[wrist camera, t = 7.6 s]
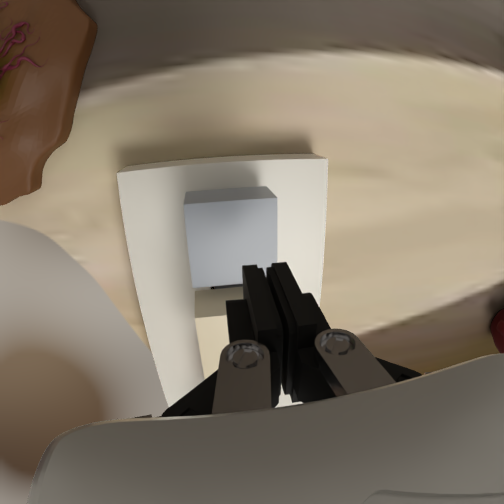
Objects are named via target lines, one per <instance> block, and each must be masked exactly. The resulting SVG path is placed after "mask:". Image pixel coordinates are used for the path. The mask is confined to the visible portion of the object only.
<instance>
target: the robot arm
mask: <svg viewBox="0 0 504 504" xmlns="http://www.w3.org/2000/svg"><path fill="white" fill-rule="evenodd" d="M242 279H243V299H238V300H226V314H227V325H228V335H229V344H228V345H227V346H225V348H224V349H223V350H222V352H221V354H220V360H219V367H218V370H216V371H215V372H214V373H213V374H211V375H210V376H209V377H208V378H206V379H205V380H204V381H203V382H201V383H200V384H199V385H197V386H196V387H195V388H194V389H192V390H191V391H190V392H188V393H187V394H186V395H185V396H183V397H182V398H181V399H179V400H178V401H177V402H175V403H174V404H173V405H171V406H170V407H169V408H168V409H167V410H166V411H165V412H164V413H163V414H162V416H159V417H153V418H152V415H147V416H140V417H135V418H127V419H115V420H107V421H101V422H95V423H90V424H87V425H83V426H79V427H76V428H73V429H71V430H68V431H66V432H64V433H62V434H60V435H59V436H57V437H56V438H55V439H54V440H53V441H52V442H51V443H50V444H49V446H48V447H47V448H46V450H45V452H44V454H43V455H42V458H41V460H40V462H39V465H38V467H37V470H36V473H35V476H34V478H33V482H32V485H31V489H30V493H29V497H28V501H27V504H504V353H500V354H493V355H487V356H483V357H479V358H475V359H472V360H469V361H466V362H463V363H460V364H456V365H453V366H450V367H447V368H444V369H441V370H438V371H435V372H427V373H425V374H424V375H421V374H420V373H418V372H416V371H414V370H411V369H408V368H405V367H402V366H399V365H396V364H393V363H390V362H387V361H385V360H382V359H379V358H376V357H374V356H373V355H372V354H371V352H370V351H369V350H368V349H367V348H366V347H365V345H364V344H363V343H362V342H361V341H360V340H359V338H358V337H357V336H355V335H354V334H353V333H351V332H349V331H347V330H343V329H331V328H330V326H329V324H328V323H327V321H326V319H325V317H324V315H323V313H322V311H321V309H320V308H319V306H318V304H317V302H316V300H315V298H314V296H313V295H312V293H310V292H309V293H302V292H301V290H300V288H299V286H298V284H297V282H296V280H295V278H294V276H293V274H292V272H291V270H290V268H289V266H288V264H287V262H279V263H272V264H271V267H267V268H266V276H265V273H264V270H263V268H258V267H257V264H255V265H242ZM281 384H282V388H283V391H284V394H285V395H289V394H290V397H291V400H292V403H295V402H302V404H296V405H290V406H283V407H276V406H277V405H278V403H279V396H280V395H281ZM275 407H276V408H275Z"/></svg>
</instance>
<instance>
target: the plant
mask: <svg viewBox="0 0 504 504" xmlns="http://www.w3.org/2000/svg"><path fill="white" fill-rule="evenodd" d="M96 34H97V24H96V23H95V22H94V21H93V20H92V19H91V18H90V17H89V16H88V15H87V14H86V13H85V12H84V11H83V10H82V9H81V8H80V7H79V5H78V4H77V2H76V0H0V205H5V204H7V203H9V202H11V201H13V200H14V199H16V198H18V197H19V196H23V195H28V194H30V193H32V192H34V191H36V190H38V189H40V187H41V184H42V171H43V168H44V165H45V163H46V161H47V159H48V158H49V156H50V155H51V154H52V153H53V151H55V150H56V149H57V148H58V147H60V146H61V145H62V144H64V143H65V142H66V141H67V139H68V137H69V134H70V132H71V128H72V124H73V117H74V112H75V108H76V104H77V100H78V96H79V92H80V88H81V84H82V79H83V75H84V71H85V68H86V65H87V62H88V59H89V57H90V54H91V51H92V48H93V45H94V41H95V38H96Z"/></svg>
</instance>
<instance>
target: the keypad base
mask: <svg viewBox="0 0 504 504" xmlns="http://www.w3.org/2000/svg"><path fill="white" fill-rule="evenodd" d="M117 180H118V188H119V195H120V203H121V209H122V216H123V222H124V229H125V235H126V240H127V246H128V251H129V257H130V262H131V267H132V272H133V277H134V282H135V286H136V291H137V295H138V300H139V304H140V308H141V312H142V317H143V321H144V325H145V329H146V333H147V336H148V340H149V344H150V348H151V351H152V355H153V358H154V362H155V365H156V368H157V372H158V376H159V379H160V382H161V385H162V388H163V392H164V395H165V398H166V401H167V404H168V407H170V406H171V405H173V404H174V403H175V402H177V401H178V400H179V399H181V398H182V397H183V396H185V395H186V394H187V393H188V392H190V391H191V390H192V389H194V388H195V387H196V386H197V385H199V384H200V383H201V382H203V381H204V380H205V377H204V372H203V366H202V360H201V354H200V348H199V342H198V336H197V329H196V323H195V291H201V290H211V287H200V288H193V286H192V278H191V270H190V262H189V254H188V245H187V236H186V226H185V216H184V206H183V204H184V199H185V193H186V192H190V191H202V190H214V189H227V188H242V187H259V186H267V187H268V188H269V189H270V190H271V191H272V192H273V194H274V195H275V196H276V197H277V263H279V262H287V264H288V266H289V268H290V270H291V272H292V274H293V276H294V278H295V280H296V282H297V284H298V286H299V288H300V290H301V292H302V293H309V292H310V293H312V295H313V296H314V298H315V300H316V302H317V304H318V306H319V308H320V297H321V286H322V273H323V260H324V245H325V228H326V209H327V183H328V159H327V158H324V157H322V156H319V155H316V154H268V155H244V156H226V157H211V158H198V159H187V160H176V161H166V162H157V163H148V164H139V165H132V166H126V167H125V168H123V169H122V170H120V171H119V172H117ZM296 404H302V402H295V403H292V400H291V397H290V394H289V395H285V394H284V391H283V388H282V384H281V395H280V396H279V403H278V405H277V406H276V407H283V406H290V405H296ZM276 407H275V408H276Z"/></svg>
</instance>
